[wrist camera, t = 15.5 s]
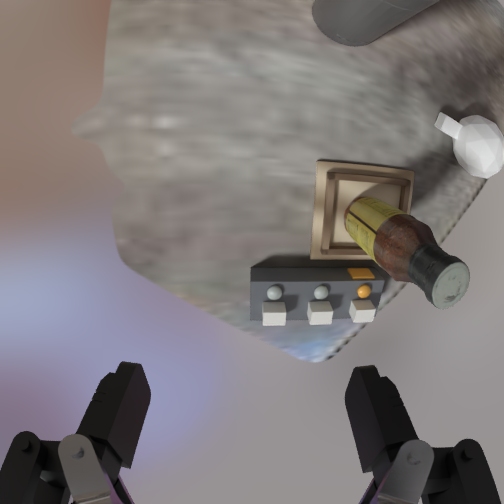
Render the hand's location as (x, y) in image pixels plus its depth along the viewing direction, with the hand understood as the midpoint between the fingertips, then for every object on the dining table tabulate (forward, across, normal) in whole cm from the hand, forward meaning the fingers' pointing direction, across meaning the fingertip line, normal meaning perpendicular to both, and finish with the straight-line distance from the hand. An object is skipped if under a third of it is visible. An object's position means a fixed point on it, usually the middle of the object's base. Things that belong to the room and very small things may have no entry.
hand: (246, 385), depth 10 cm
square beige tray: (+28, -15, +1) cm, 32 cm away
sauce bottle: (+28, -15, +1) cm, 31 cm away
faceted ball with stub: (+28, -30, -12) cm, 43 cm away
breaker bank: (+28, -9, +12) cm, 32 cm away
